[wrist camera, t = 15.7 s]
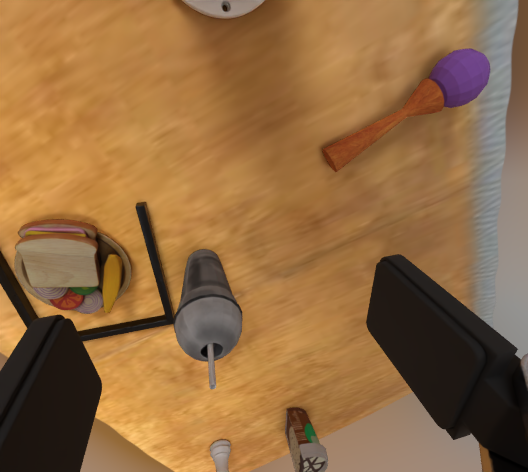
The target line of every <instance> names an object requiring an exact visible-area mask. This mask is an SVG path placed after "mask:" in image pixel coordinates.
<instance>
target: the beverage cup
mask: <svg viewBox="0 0 528 472" xmlns="http://www.w3.org/2000/svg"><path fill="white" fill-rule="evenodd" d="M173 324H174V329H175V333H176V337H177V341H178V343H179V345H180V346H181V348H182V349H183V351H184V352H185V353H186V354H188V355H189V356H191V357H192V358H194V359H196V360H200V361H208V364H209V383H210V389H215V388H216V378H215V365H214V361H215V360H218V359H220V358H223V357H224V356H226V355H227V354H228V353H230V352H231V350H232V349H233V348H234V347H235V346H236V344H237V342H238V340H239V338H240V335H241V332H242V311H241V308H240V306H239V305H238V304H237V302H236V300H235V298H234V296H233V295H232V292H231V289H230V286H229V284H228V281H227V278H226V275H225V272H224V270H223V267H222V264H221V262H220V260H219V258H218V256H217V254H215V253H214V252H213V251H211V250H206V249H202V250H198V251H195V252H194V253H192V254H191V255H190V256H189V258H188V261H187V265H186V269H185V275H184V281H183V288H182V294H181V301H180V304H179V307H178V310H177V313H176V314H175V318H174V322H173Z"/></svg>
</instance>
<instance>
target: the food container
mask: <svg viewBox="0 0 528 472" xmlns="http://www.w3.org/2000/svg"><path fill="white" fill-rule="evenodd" d="M285 434H286V438H287V442H288V445H289V449H290V453H291V457H292V461H293V464H294V468H295V472H325V470H326V469H327V466H328V457H327V452H326V448H325V447H324V446H322V445H320V443H319V440H318V438H317V436H316V433H315V431H314V429H313V427H312V424H311V422H310V420H309V418H308V415H307V413H306V411H305V410H303V409H301V408H288V409H287V410H286V427H285Z"/></svg>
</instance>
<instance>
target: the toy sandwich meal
mask: <svg viewBox="0 0 528 472" xmlns="http://www.w3.org/2000/svg"><path fill="white" fill-rule="evenodd" d="M18 234H19V236H20V237H21V238H22V239H20V240H19V241H18V243H17V244H16V246H15V249H16V250H17V253H16V256H15V271H16V274H17V277H18V279H19V281H20V282H21V284H22V285H23V286H24V288H25V289H26V290H27V291H28V292H29V293H30V294H32V295H33V296H34V297H36V298H37V299H39V300H40V301H42V302H44V303H46V304H49V305H51V306H54V307H56V308H58V309H62V310H75V311H78V312H80V313H84V314H90V313H94V312H96V311H98V310H99V309H100V308H101V307H104V312H105V313H110V311H111V309H112V307H113V304H114V302H115V301H116V300H117V299H118V298H119V297H121V296H122V295H123V293H124V292H125V291H126V289H127V288H128V286H129V283H130V280H131V265H130V262H129V260H128V257H127V256H126V254H125V252H124V251H123V250H122V248H121V247H120V246H119V245H118V244H117V243H116V242H114V241H113V240H112V239H110V238H109V237H107V236H105V235H104V234H102V233H100V232H97V228H96V227H95V226H93V225H90V224H88V223H84V222H79V221H74V220H64V219H51V220H41V221H35V222H31V223H28V224H25V225H23V226H22V227H21V228H20V230H19V231H18Z"/></svg>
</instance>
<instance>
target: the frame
mask: <svg viewBox="0 0 528 472" xmlns="http://www.w3.org/2000/svg"><path fill="white" fill-rule="evenodd" d="M136 210H137V214H138V217H139V221H140V225H141V228H142V232H143V236H144V239H145V243H146V246H147V250H148V254H149V257H150V261H151V265H152V268H153V272H154V275H155V279H156V283H157V286H158V290H159V294H160V297H161V301H162V304H163V308H164V312H165V315H163V316H157V317H152V318H147V319H141V320H136V321H131V322H126V323H120V324H115V325H110V326H104V327H99V328H94V329H89V330H83V331H78V334H79V336H80V338H81V340H82V342H83V341H88V340H93V339H98V338H103V337H108V336H113V335H118V334H124V333H129V332H134V331H139V330H144V329H149V328H154V327H159V326H164V325H170V324H173V322H174V318H175V315H174V311H173V307H172V304H171V300H170V296H169V292H168V288H167V284H166V280H165V276H164V272H163V268H162V264H161V260H160V257H159V253H158V249H157V245H156V241H155V237H154V233H153V229H152V225H151V221H150V217H149V213H148V210H147V206H146V202H141V203H137V204H136ZM0 284H1V285H2V287H3V289H4V290H5V292H6V294H7V295H8V297H9V299H10V300H11V302H12V304H13V305H14V307H15V309H16V310H17V312H18V314H19V315H20V317H21V319H22V320H23V322H24V324H25V325H26V327H27V329H28V327H29V326H30V324H31V323H32V322H33V320H35V319H37V318H38V317H37V315H36V313H35V312H34V310H33V308H32V306H31V305H30V303H29V301H28V299H27V298H26V296H25V294H24V292H23V290H22V289H21V287H20V285H19V283H18V282H17V280H16V278H15V276H14V275H13V273H12V271H11V269H10V267H9V266H8V264H7V262H6V260H5V259H4V257H3V255H2V253H1V252H0Z"/></svg>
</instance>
